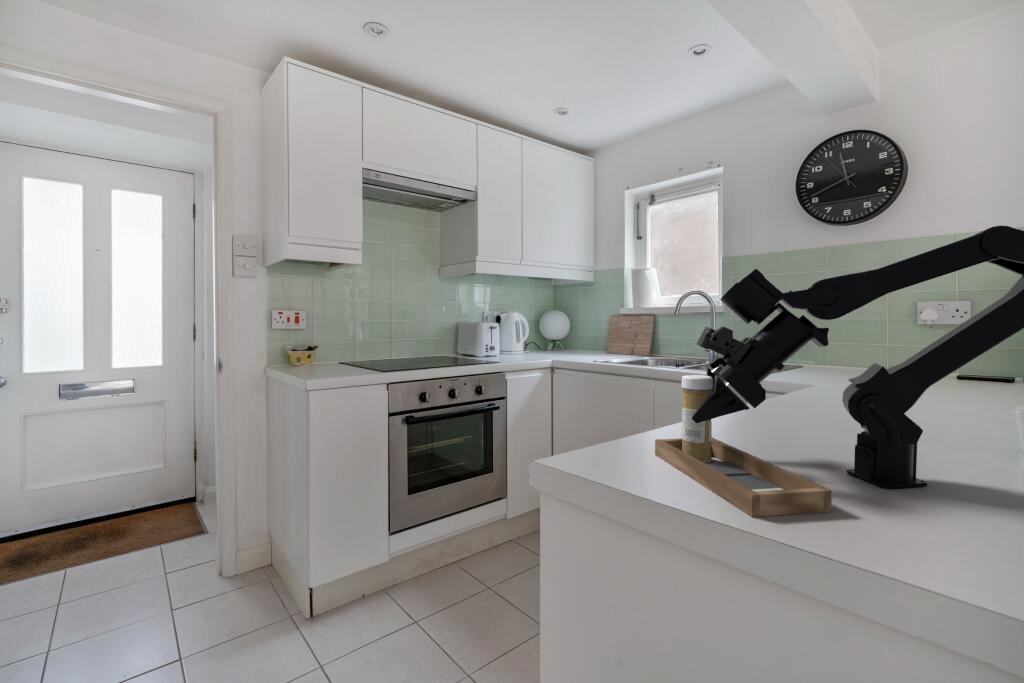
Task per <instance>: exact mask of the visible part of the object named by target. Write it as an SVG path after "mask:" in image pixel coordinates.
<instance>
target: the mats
mask: <svg viewBox="0 0 1024 683" xmlns="http://www.w3.org/2000/svg"><path fill="white" fill-rule="evenodd" d="M705 464H706V465H708V466H710V467H712V468H713V469H715V470H717V471H719V472H721V473H722V474H724V475H726V476H728V477H729V478H731V479H733V480H735V481H737V482H738V483H740V484H742V485H744V486H746V487H747V488H749V489H751V490H752V489H769V488H779V487H777V486H775V485H773V484H771V483H769V482H767V481H766V480H764V479H762V478H760V477H758V476H756V475H750V472H748V471H746V470H744V469H742V468H740V467H738V466H736V465H734V464H732V463H730V462H727V463H726V462H709V463H705Z"/></svg>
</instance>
